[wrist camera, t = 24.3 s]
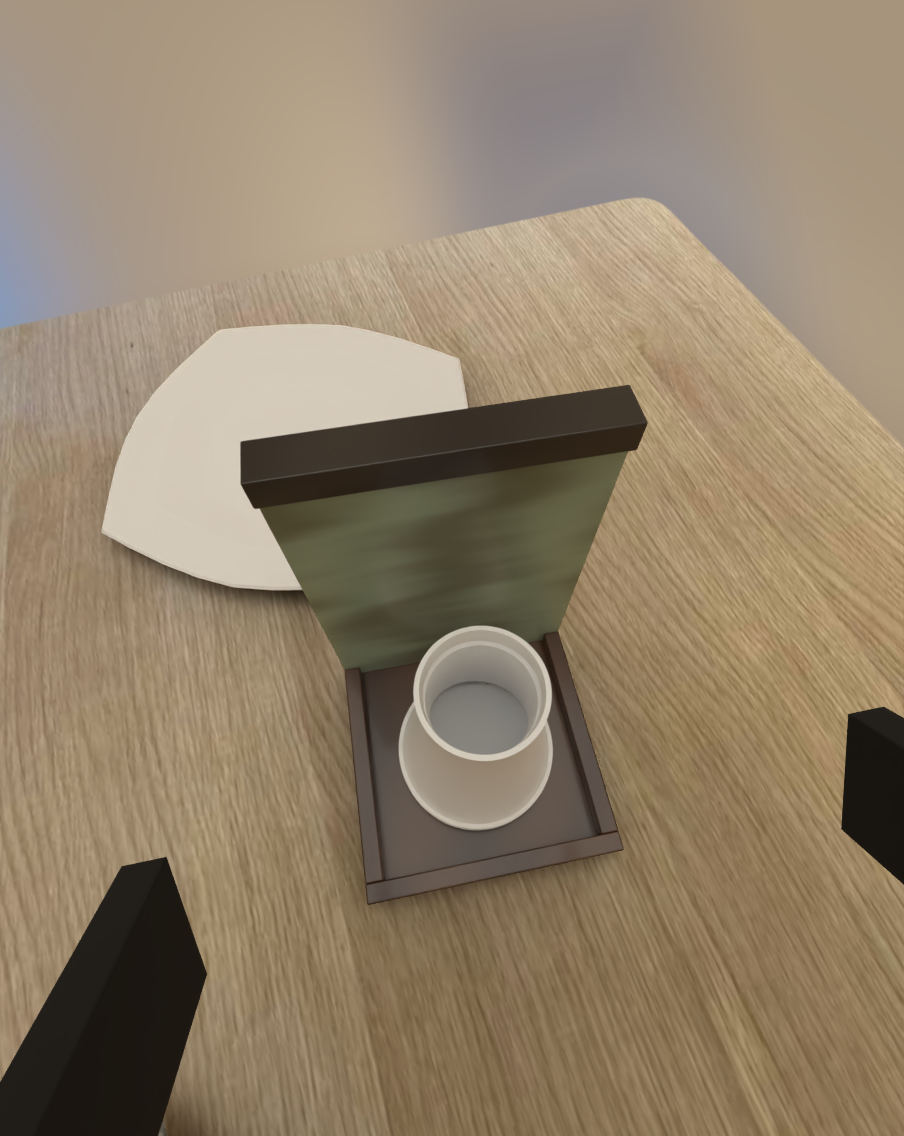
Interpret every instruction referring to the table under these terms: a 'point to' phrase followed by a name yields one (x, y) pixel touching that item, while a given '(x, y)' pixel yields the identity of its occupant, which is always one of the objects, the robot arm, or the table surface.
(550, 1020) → the table surface
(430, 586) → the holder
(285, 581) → the plate
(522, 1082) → the table surface
